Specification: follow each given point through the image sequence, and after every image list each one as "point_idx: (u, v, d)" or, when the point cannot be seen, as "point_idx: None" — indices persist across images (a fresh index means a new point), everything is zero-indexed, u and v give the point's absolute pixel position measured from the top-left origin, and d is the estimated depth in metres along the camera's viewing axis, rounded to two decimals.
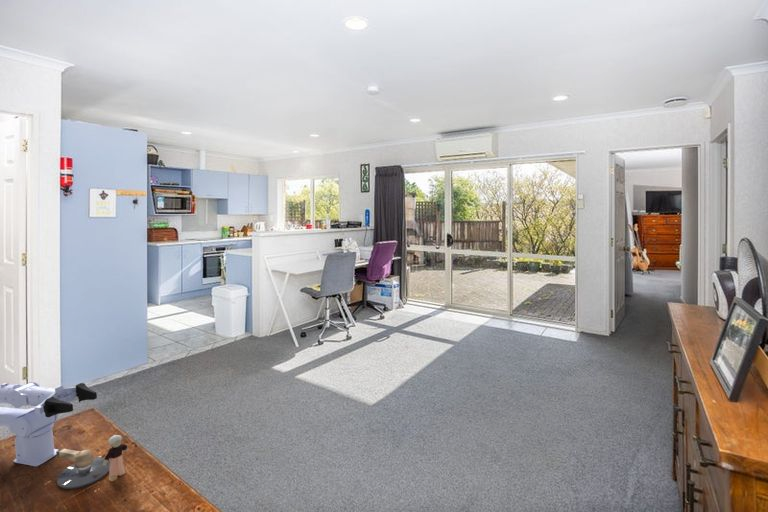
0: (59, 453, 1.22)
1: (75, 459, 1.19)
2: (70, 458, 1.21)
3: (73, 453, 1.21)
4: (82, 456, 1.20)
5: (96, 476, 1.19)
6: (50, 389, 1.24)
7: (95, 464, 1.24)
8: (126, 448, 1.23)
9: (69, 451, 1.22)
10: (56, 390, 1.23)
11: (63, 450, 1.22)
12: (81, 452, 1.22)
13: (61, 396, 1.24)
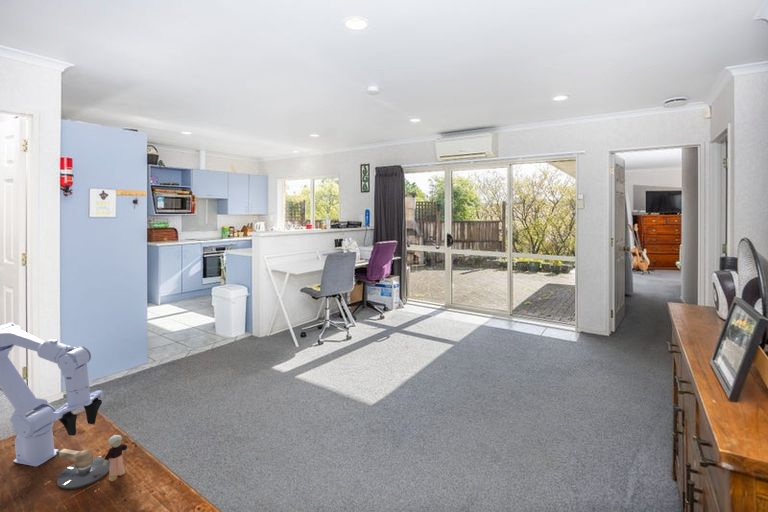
0: (59, 453, 1.22)
1: (75, 459, 1.19)
2: (70, 458, 1.21)
3: (73, 453, 1.21)
4: (82, 456, 1.20)
5: (96, 476, 1.19)
6: (85, 392, 1.25)
7: (95, 464, 1.24)
8: (126, 448, 1.23)
9: (69, 451, 1.22)
10: (84, 405, 1.24)
11: (63, 450, 1.22)
12: (81, 452, 1.22)
13: None
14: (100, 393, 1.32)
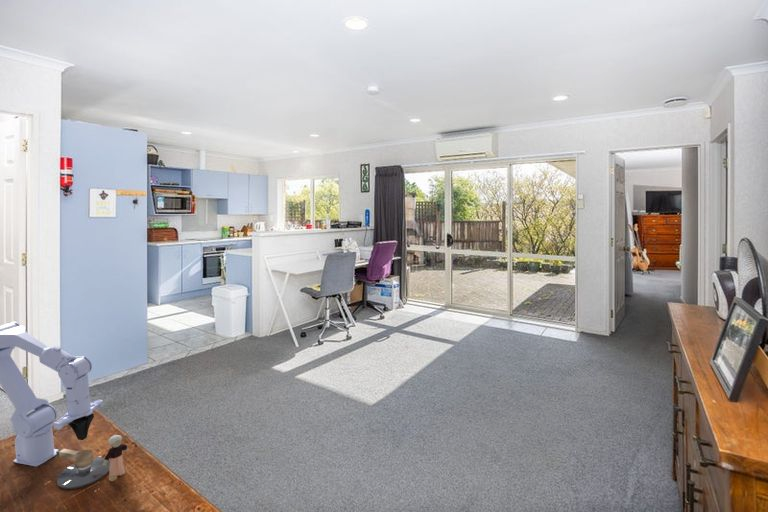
0: (59, 453, 1.22)
1: (75, 459, 1.19)
2: (70, 458, 1.21)
3: (73, 453, 1.21)
4: (82, 456, 1.20)
5: (96, 476, 1.19)
6: (85, 402, 1.25)
7: (95, 464, 1.24)
8: (126, 448, 1.23)
9: (69, 451, 1.22)
10: (85, 415, 1.24)
11: (63, 450, 1.22)
12: (81, 452, 1.22)
13: None
14: (100, 403, 1.32)
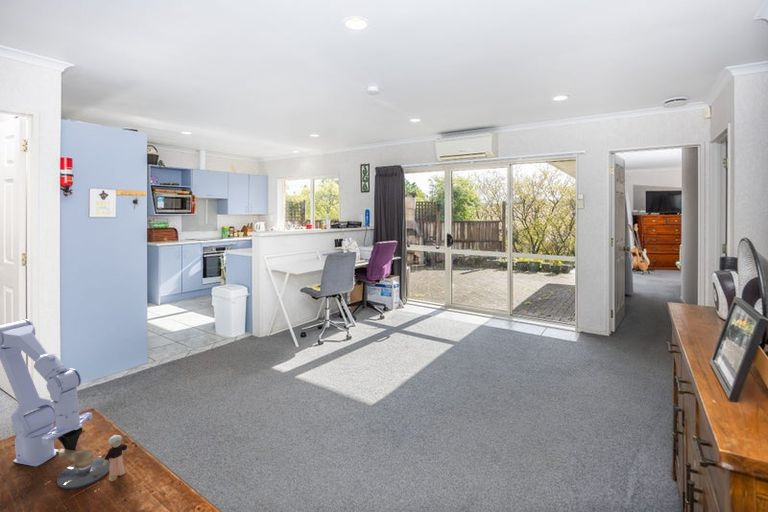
0: (59, 453, 1.22)
1: (75, 459, 1.19)
2: (70, 458, 1.21)
3: (73, 453, 1.21)
4: (82, 456, 1.20)
5: (96, 476, 1.19)
6: (75, 416, 1.22)
7: (95, 464, 1.24)
8: (126, 448, 1.23)
9: (69, 451, 1.22)
10: (74, 429, 1.21)
11: (63, 450, 1.22)
12: (81, 452, 1.22)
13: None
14: (89, 415, 1.29)
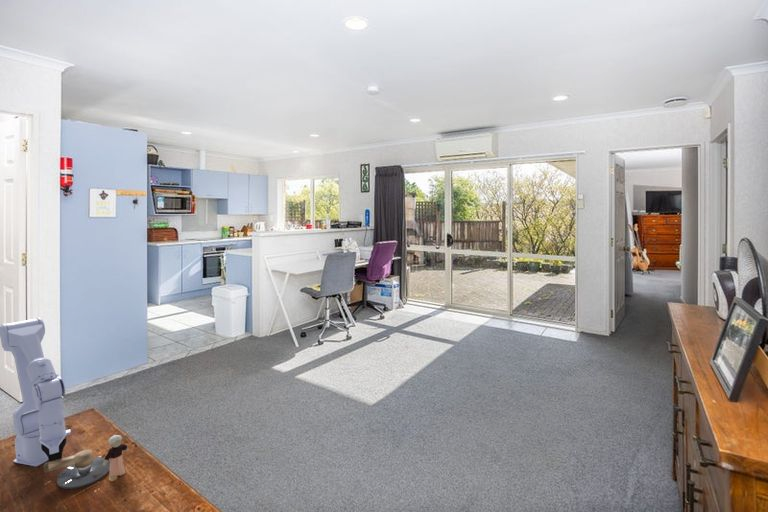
0: (49, 466, 1.16)
1: (81, 459, 1.19)
2: (66, 464, 1.18)
3: (70, 458, 1.19)
4: (86, 454, 1.20)
5: (96, 476, 1.19)
6: (64, 422, 1.19)
7: (95, 464, 1.24)
8: (126, 448, 1.23)
9: (61, 459, 1.18)
10: (67, 434, 1.19)
11: (51, 462, 1.17)
12: (78, 454, 1.21)
13: None
14: None
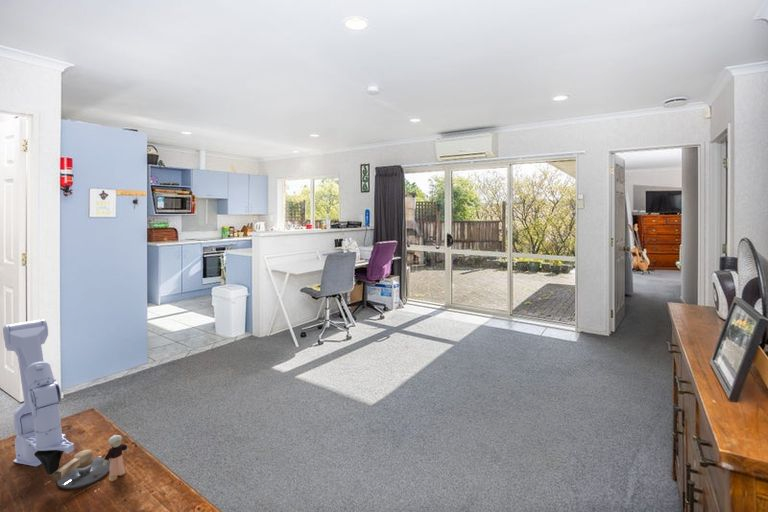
0: (61, 473, 1.13)
1: (88, 456, 1.20)
2: (74, 467, 1.17)
3: (75, 460, 1.18)
4: (88, 452, 1.21)
5: (96, 476, 1.19)
6: None
7: (95, 464, 1.24)
8: (126, 448, 1.23)
9: (67, 465, 1.16)
10: (63, 437, 1.17)
11: (60, 469, 1.14)
12: (78, 456, 1.20)
13: None
14: None
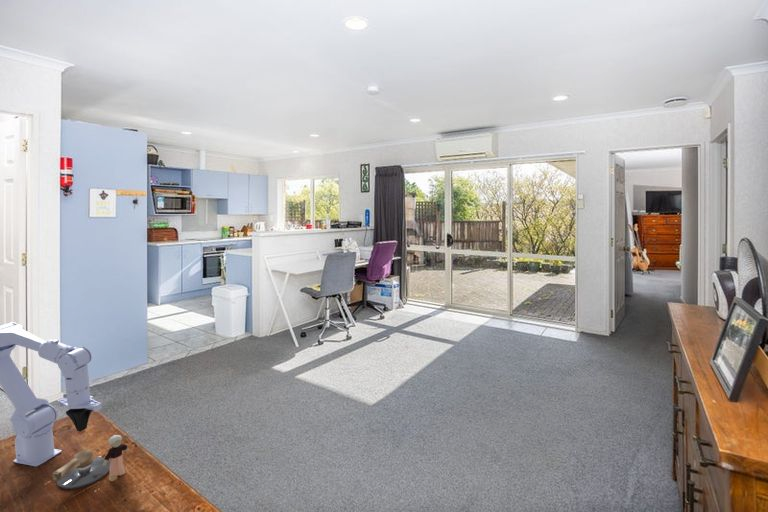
0: (61, 473, 1.13)
1: (88, 456, 1.20)
2: (74, 467, 1.17)
3: (75, 460, 1.18)
4: (88, 452, 1.21)
5: (96, 476, 1.19)
6: None
7: (95, 464, 1.24)
8: (126, 448, 1.23)
9: (67, 465, 1.16)
10: None
11: (60, 469, 1.14)
12: (78, 456, 1.20)
13: None
14: None
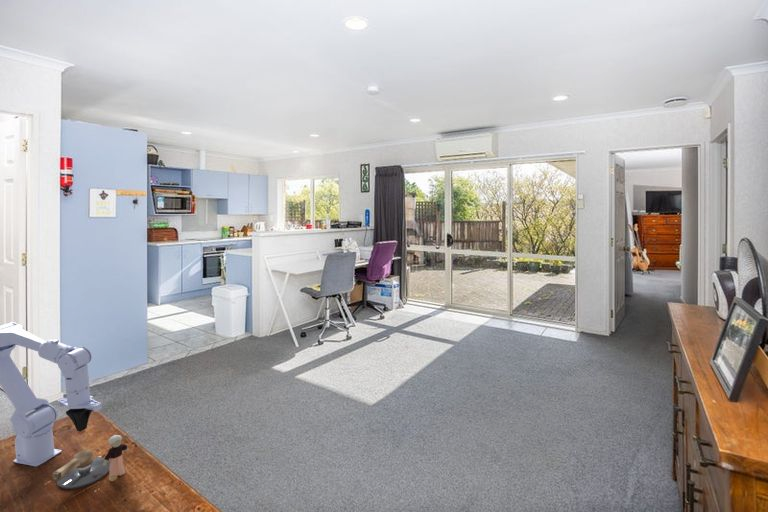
0: (61, 473, 1.13)
1: (88, 456, 1.20)
2: (74, 467, 1.17)
3: (75, 460, 1.18)
4: (88, 452, 1.21)
5: (96, 476, 1.19)
6: None
7: (95, 464, 1.24)
8: (126, 448, 1.23)
9: (67, 465, 1.16)
10: None
11: (60, 469, 1.14)
12: (78, 456, 1.20)
13: None
14: None
